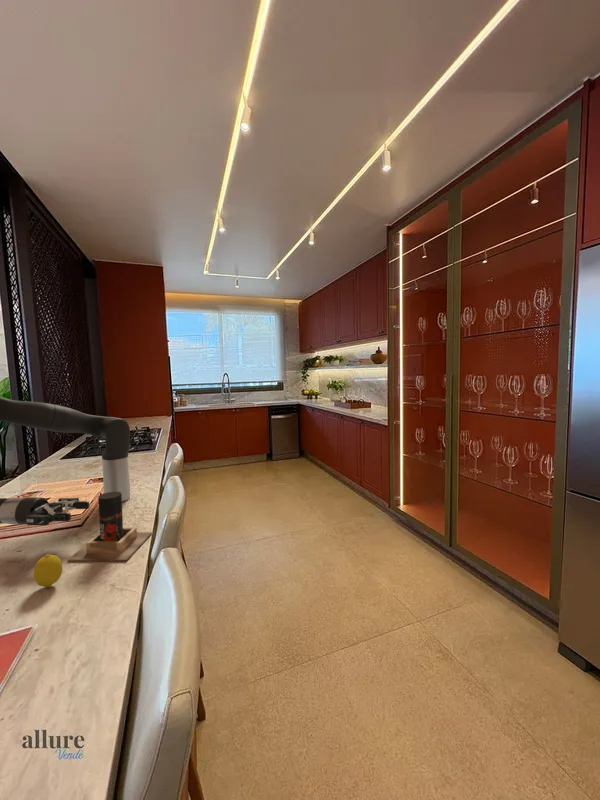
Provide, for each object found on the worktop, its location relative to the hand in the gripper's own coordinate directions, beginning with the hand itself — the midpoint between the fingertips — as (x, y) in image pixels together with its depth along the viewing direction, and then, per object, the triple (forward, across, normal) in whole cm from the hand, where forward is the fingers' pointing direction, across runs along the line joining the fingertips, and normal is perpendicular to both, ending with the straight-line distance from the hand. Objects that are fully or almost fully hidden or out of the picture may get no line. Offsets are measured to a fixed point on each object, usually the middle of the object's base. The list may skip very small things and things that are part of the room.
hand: (79, 510), depth 101 cm
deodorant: (+9, 0, +10) cm, 14 cm away
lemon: (+4, -19, +11) cm, 22 cm away
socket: (+9, 0, +11) cm, 14 cm away
